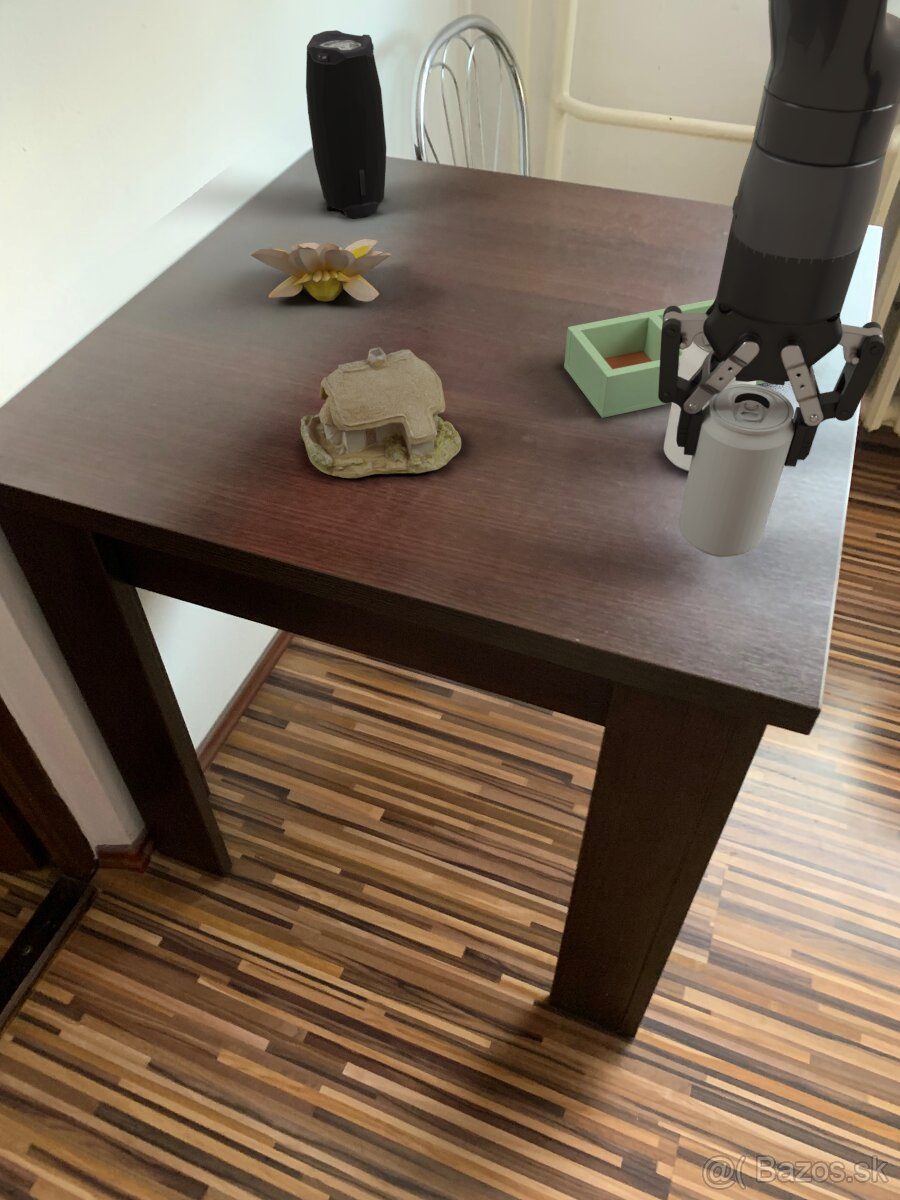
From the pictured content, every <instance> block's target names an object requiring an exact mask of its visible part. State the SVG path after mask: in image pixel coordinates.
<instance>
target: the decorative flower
mask: <svg viewBox="0 0 900 1200" xmlns="http://www.w3.org/2000/svg"><path fill="white" fill-rule="evenodd" d="M378 242H379V241H378V240H376V239H369V238H364V239H359V240H356V241H354V242H353V243H350V244H349V245H347V246H346V248H344V249H343V247H339V246H338V245H336V244H335V243H333V242H324V243H321V244H319V243H317V242H304V243H299V244H293V245H292V247H291V252H288V251H286V250H284V249H280V248H260V249H258V250H257V251H255V252H253V253H252V254H251V255H250V256H251V257H253V258H254V259H256V260H258V261H259V262H261V263H263V264H264V265H266V266H269V267H271V268H273V269H275V270H278V271H280V272H282V273H285V274H287V275H290V276H289V277H287V278H286V279H285V280H283V281H282V282H281V283H279V284H278V285H277V286H276V287H275V288H273V290H271V292H270V293H269V294H268V298H283V297H284V298H285V297H295V296H296V295H298V294H299V293H300V292H301V291H302V290H303V288H305V289H306V290H307V292H308V293H309V294H310V295H311V297H312V298H314V299H315V300H317V301H319V302H325V303H326V302H331V301H332V302H333V301H334V300H335V299H336V298H337V297H338V296H339V295H340V294H341V293H342V292H343V290H344V291H345V292H346V293H348V295H349V296H351V297H352V298H354V299H355V300H357V301H361V302H372V301H374V300H375V299H376V298H378V296H379V295H380V292H379V291H378V290H377V289H376V288H375V287H374V286H373V285H372V284H371V283H369V281H367V280H366V279H365V278H364V277H363V276H361V275H362V274H364V273H366V272H368V271H370V270H372V269H374V268H375V267H377V266H378V265H380V264H381V263H382V262H384V261H385V260H386V259H388V258H389V257H391V256H392V253H390V252H386V253H384V252H383V251H380V250H373V249H374V247H375V246H376V245H377V244H378ZM372 250H373V251H372Z"/></svg>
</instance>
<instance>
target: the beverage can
mask: <svg viewBox="0 0 900 1200" xmlns="http://www.w3.org/2000/svg"><path fill="white" fill-rule="evenodd" d="M794 413H795V410H794V406H793V405H792V402H791V401H790V400H789V399H788V398H787V397H786V396H784V394H782V393H780V392H778V391H777V390H774V389H773V388H769V387H767V386H762V385H760V384H759V385H752V384H736V385H730V386H726V387H725V388H724V389H723V390H722V391H721V392H720V393H719V394H715V395H714V396H713V397H712V398H711V399H710V400H709V404H708V405H707V406H706V407H705V408H704V409H703V411H702V419H701V424H700V428H699V433H698V438H697V443H696V447H695V452H694V456H692V459H691V464H690V469H689V472H687V478H686V479H687V480H686V484H685V488H684V493H683V497H682V503H681V507H680V512H679V517H678V528H679V529H678V530H679V531H680V534H681V536H682V537H683V538H684V540H685V541H686V542H687V543H689V544H690V545H691V546H692V547H694V548H695V549H697V550H698V551H699V552H702V553H704V554H706V555H709V556H713V557H720V558H726V557H727V558H728V557H733V556H735V557H736V556H740V555H742V554H746V553H749V552H750V551H752V550H754V549H755V548H756V547H757V546H758V545H759V544H760V542H761V540H762V538H763V535H764V532H765V529H766V525H767V523H768V519H769V516H770V513H771V510H772V509H771V508H772V507H773V503H774V500H775V496H776V493H777V490H778V486H779V485H780V484H779V483H780V480H781V477H782V473H783V471H784V467H785V465H784V464H785V461H786V458H787V454H788V451H789V448H790V445H791V441H792V438H793V435H794V431H795V424H794V421H793V417H794Z"/></svg>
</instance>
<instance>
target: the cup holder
mask: <svg viewBox="0 0 900 1200" xmlns="http://www.w3.org/2000/svg"><path fill="white" fill-rule="evenodd" d="M715 299H716V298H714V299H707V300H703V301H698V302H692V303H686V304H682V305H676V306H677V307H679V308H680V309H681V311H682V313H706V311H707V310H708V309H709V307H710V306H711V305H712V304H713V302H714V301H715ZM666 308H667V307H666ZM666 308H665V307H664V308H660V309H656V310H655V309H654V310H651V311H645V312H639V313H634V314H629V315H623V316H619V317H613V318H608V319H603V320H597V321H591V322H587V323H586V322H585V323H581V324H577V325H572V326H571V325H570V326H568V327H567V329H566V330H567V331H566V342H565V352H564V353H565V355H564V364H563V368H564V369H565V371H566V372H567V373H568V375H569V376H570V378H571V379H572V380H573V382H574V383H575V384H576V385H577V386H578V388H579V389H580V390H581V392H582V393H583V394H584V396H585V397H586V399H587V400H588V401H589V402H590V404H591V405H592V406H593V408H594V409H595V411H596V412H597V414H599V416H600V417H601V418H602V419H603V418H608V417H613V416H618V415H622V414H628V413H632V412H637V411H642V410H646V409H651V408H655V407H660V406H664V405H665V406H666V405H670V404H672V402H671V403H663V402H661V401H660V400H659V398H658V391H659V371H660V351H661V332H662V323H663V314H664V311H665V309H666ZM682 351H683V350H682V349H680V352H679V365H680V360H681V355H682ZM678 370H679V367H678ZM763 384H766V382H764V381H761V380H758V381H756V385H759V386H760V385H763Z"/></svg>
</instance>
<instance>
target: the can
mask: <svg viewBox="0 0 900 1200" xmlns="http://www.w3.org/2000/svg"><path fill="white" fill-rule="evenodd" d="M712 350H713V349H712V347H711V346H710V344H709V342H708V340H707V339H706V337H705V335H704V333H700V334H698V335H696V336H695V337H694V339H693V342H692V344H691V345H690V346H689V347H688V348H686V349H684V350H683V351H682V355H681V360H680V365H679V370H678V376H679V377H681V378H684V379H686V380H688V381H689V380H690V378H691V377H692V376H693V375H694V374H695V373H696V372H697V370H698V369H699V368H700V367H701V366H702V364H703V361H704V359H705V358H706V357H707V355H708V354H709V353H710V352H711V351H712ZM736 384H752V385H756V381H751V382H743V381H735V377H734V378H733V379H732V380H731V381H730V382H729V384H728V385H727V386H730V385H736ZM708 404H709V401H708V402H707V403H706V404H705V405H704V407H703V409H704V408H705V407H706V406H707V405H708ZM680 411H681V408H680V407H679V406H678V405H677V404H675V403H673V402H672V403H671V406H670V410H669V415H668V421H667V426H666V432H665V436H664V442H663V452H664V454H665V456H666V457H667V459H668V460H669V461H670V463H671V464H672V465H673V466H674V467H676V468H678V469H680V470H683V471H684V472H687V473H689V469H690V464H691V459H692V455H684V447H678V445H677V442H676V437H677V427H678V422H679V417H680ZM702 411H703V410H702Z"/></svg>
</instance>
